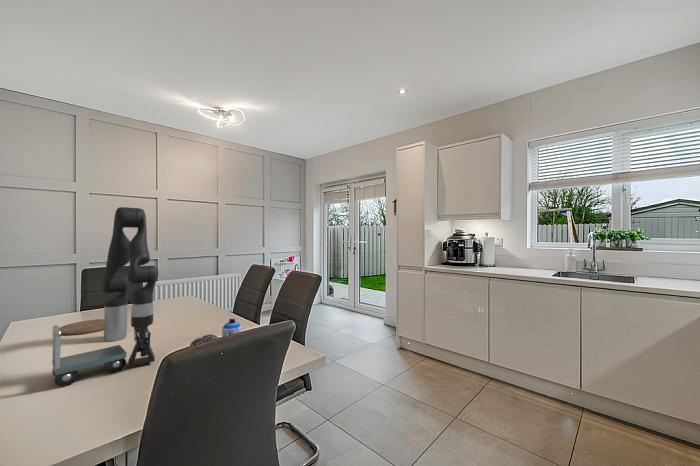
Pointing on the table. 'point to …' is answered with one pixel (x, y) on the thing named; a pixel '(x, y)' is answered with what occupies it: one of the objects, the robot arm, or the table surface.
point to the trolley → (83, 360)
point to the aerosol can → (231, 328)
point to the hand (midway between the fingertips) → (141, 353)
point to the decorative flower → (203, 339)
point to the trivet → (82, 327)
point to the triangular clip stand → (137, 361)
